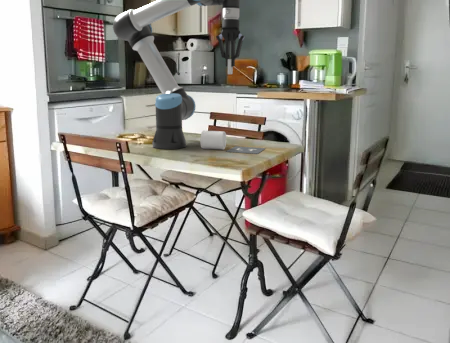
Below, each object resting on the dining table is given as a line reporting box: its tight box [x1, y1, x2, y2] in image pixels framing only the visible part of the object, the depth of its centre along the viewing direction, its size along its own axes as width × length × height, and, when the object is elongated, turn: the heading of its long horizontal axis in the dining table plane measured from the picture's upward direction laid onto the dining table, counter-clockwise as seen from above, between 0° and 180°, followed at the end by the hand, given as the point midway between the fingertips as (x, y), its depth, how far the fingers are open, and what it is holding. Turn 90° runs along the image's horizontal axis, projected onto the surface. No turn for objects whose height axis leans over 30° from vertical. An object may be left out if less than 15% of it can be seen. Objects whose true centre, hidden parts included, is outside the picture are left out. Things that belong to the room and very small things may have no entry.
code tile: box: [225, 145, 266, 155], centre depth 196 cm, size 14×14×1 cm
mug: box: [199, 130, 227, 150], centre depth 200 cm, size 12×10×8 cm
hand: (230, 74), depth 202 cm, fingers closed
